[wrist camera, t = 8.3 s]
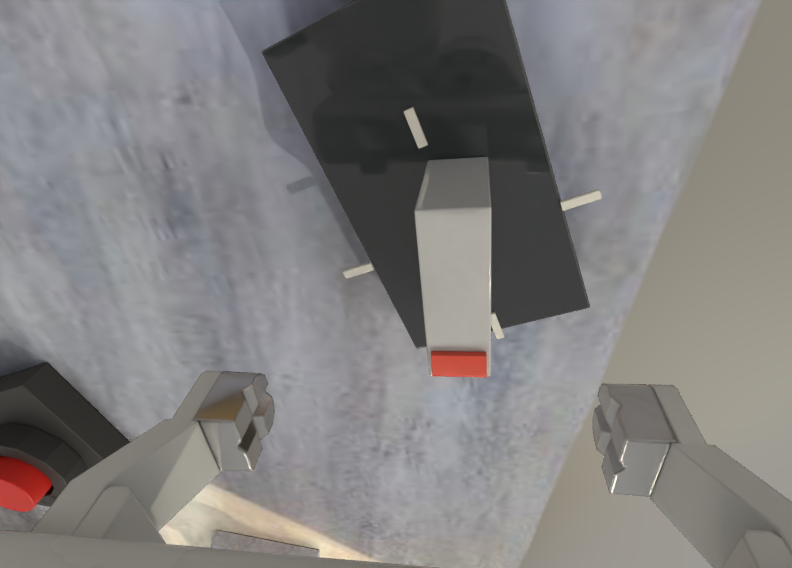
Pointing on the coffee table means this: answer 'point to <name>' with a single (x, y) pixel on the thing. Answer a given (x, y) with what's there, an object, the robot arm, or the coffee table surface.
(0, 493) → the stop button
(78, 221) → the coffee table surface
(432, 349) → the tap handle
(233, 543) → the dinosaur figurine
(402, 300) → the panel
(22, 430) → the control block
